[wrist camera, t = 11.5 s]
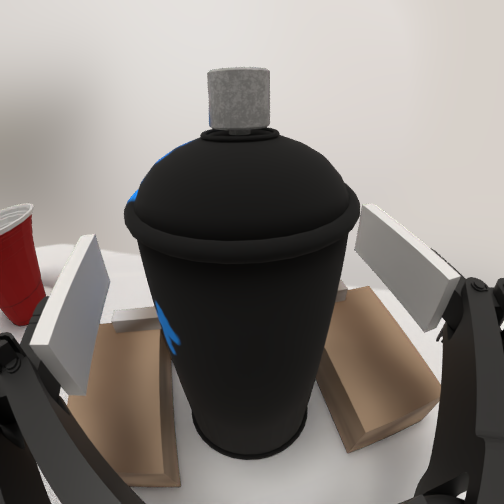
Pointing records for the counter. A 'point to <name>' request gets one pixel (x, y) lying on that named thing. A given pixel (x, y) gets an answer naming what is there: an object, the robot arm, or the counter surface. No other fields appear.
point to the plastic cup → (18, 265)
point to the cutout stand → (328, 378)
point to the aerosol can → (244, 266)
